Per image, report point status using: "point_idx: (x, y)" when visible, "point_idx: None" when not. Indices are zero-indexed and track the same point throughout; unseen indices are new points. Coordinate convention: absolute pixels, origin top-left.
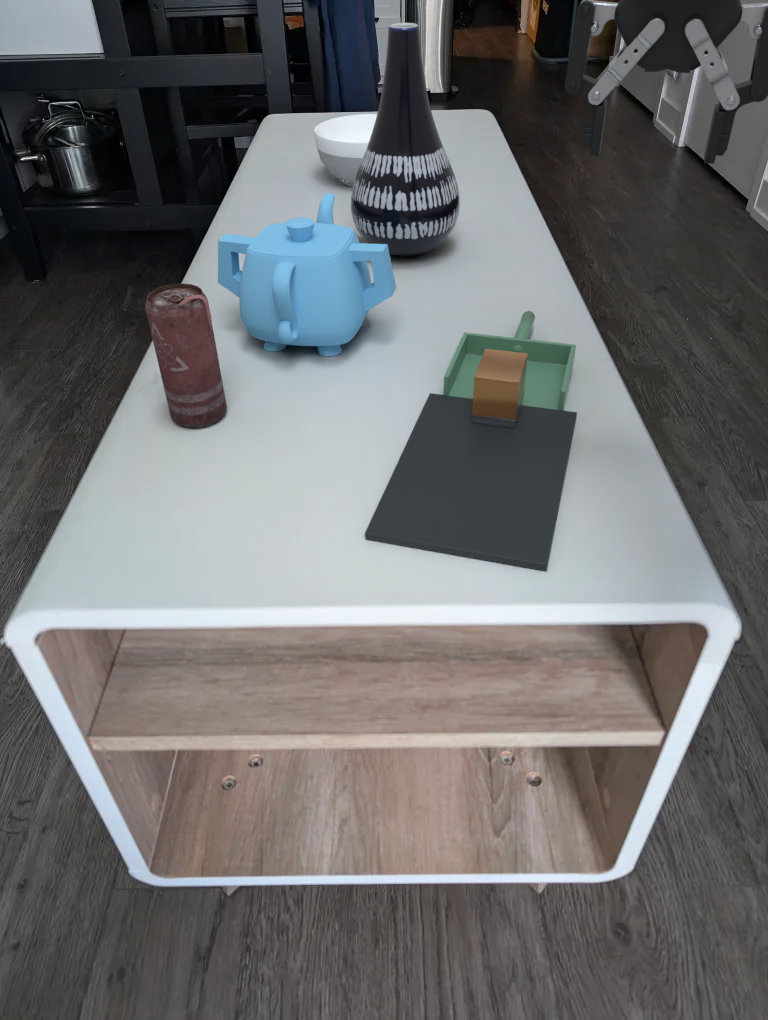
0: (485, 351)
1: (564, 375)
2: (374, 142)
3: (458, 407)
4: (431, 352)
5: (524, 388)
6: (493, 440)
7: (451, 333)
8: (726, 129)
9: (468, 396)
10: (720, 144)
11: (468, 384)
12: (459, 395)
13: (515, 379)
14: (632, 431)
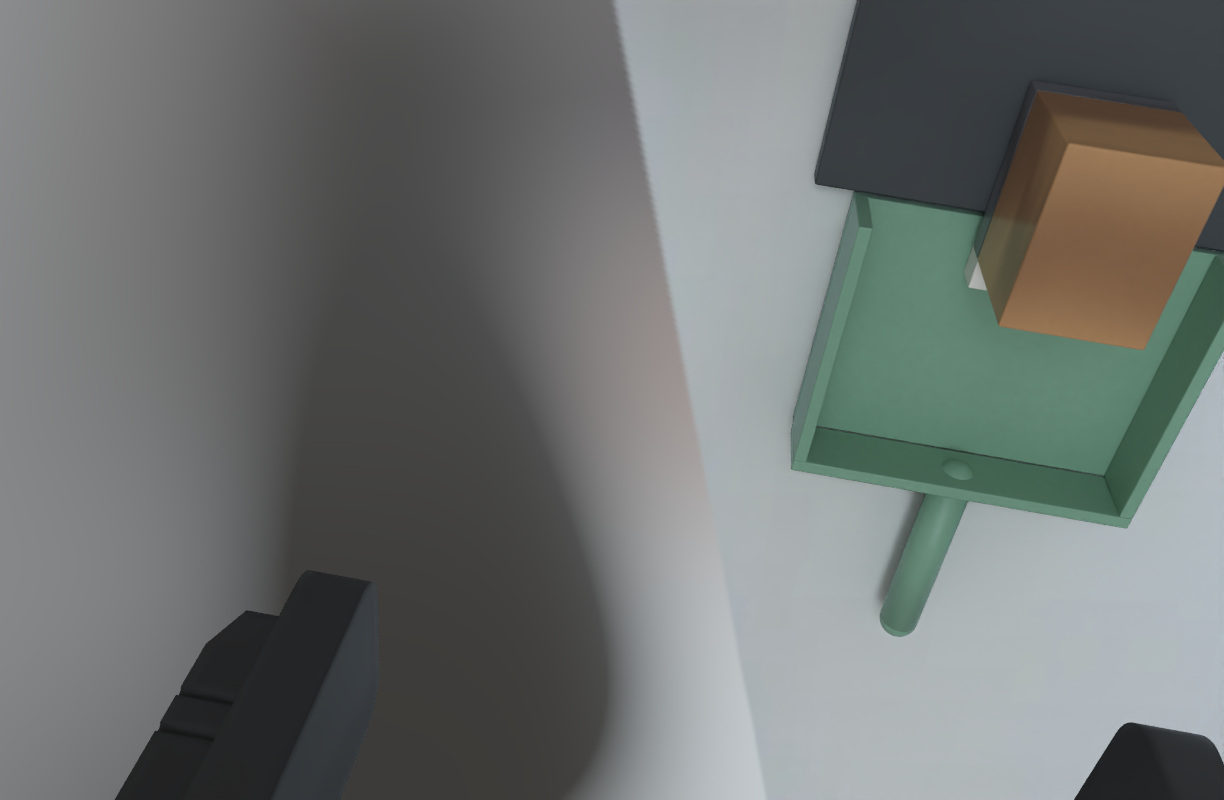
0: (1148, 331)
1: (848, 313)
2: None
3: None
4: (1207, 489)
5: (967, 282)
6: (1117, 4)
7: (1123, 577)
8: (177, 765)
9: None
10: (246, 675)
11: None
12: None
13: (1077, 161)
14: (654, 121)
